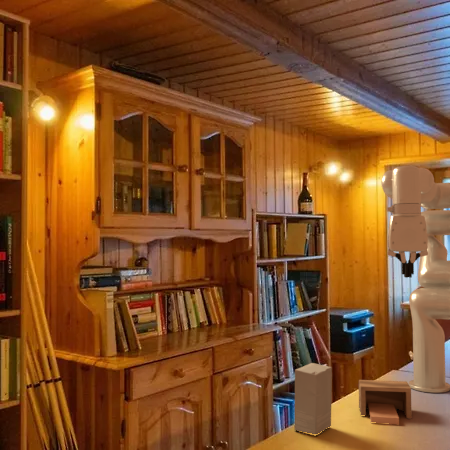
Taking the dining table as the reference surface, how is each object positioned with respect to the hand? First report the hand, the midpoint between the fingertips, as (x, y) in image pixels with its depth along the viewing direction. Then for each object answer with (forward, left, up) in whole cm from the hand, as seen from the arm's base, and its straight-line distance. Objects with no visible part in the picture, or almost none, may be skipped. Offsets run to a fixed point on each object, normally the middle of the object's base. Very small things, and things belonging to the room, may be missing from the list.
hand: (407, 277), depth 152 cm
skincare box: (+18, -26, -37) cm, 49 cm away
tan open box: (+1, -7, -37) cm, 38 cm away
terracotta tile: (+5, -8, -38) cm, 39 cm away
